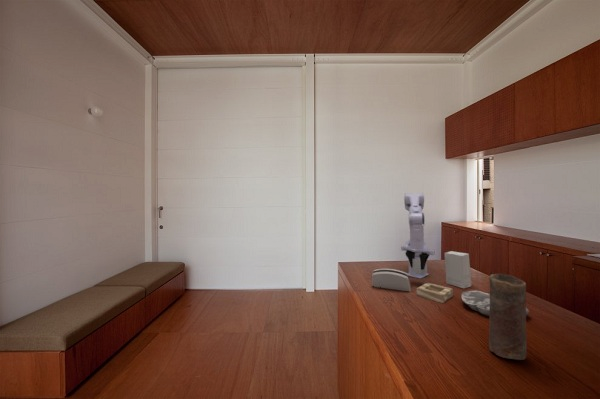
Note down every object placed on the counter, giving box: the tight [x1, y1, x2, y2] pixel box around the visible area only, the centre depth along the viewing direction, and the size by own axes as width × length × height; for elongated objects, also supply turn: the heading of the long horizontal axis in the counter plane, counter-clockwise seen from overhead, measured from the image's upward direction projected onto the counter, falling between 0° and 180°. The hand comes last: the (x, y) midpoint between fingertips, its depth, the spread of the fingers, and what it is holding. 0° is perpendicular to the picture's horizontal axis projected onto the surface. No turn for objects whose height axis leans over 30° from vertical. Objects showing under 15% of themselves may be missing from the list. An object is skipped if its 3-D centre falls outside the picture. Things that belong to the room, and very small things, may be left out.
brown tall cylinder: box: [488, 273, 527, 361], centre depth 63 cm, size 8×7×20 cm
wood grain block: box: [412, 258, 425, 274], centre depth 113 cm, size 4×4×6 cm
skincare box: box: [444, 250, 472, 289], centre depth 111 cm, size 8×6×15 cm
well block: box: [416, 282, 454, 304], centre depth 100 cm, size 10×10×3 cm
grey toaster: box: [371, 268, 412, 292], centre depth 110 cm, size 17×5×10 cm, turn 65°
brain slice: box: [460, 290, 530, 317], centre depth 88 cm, size 20×17×3 cm
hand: (417, 268), depth 112 cm, fingers closed on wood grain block, 4 cm apart
